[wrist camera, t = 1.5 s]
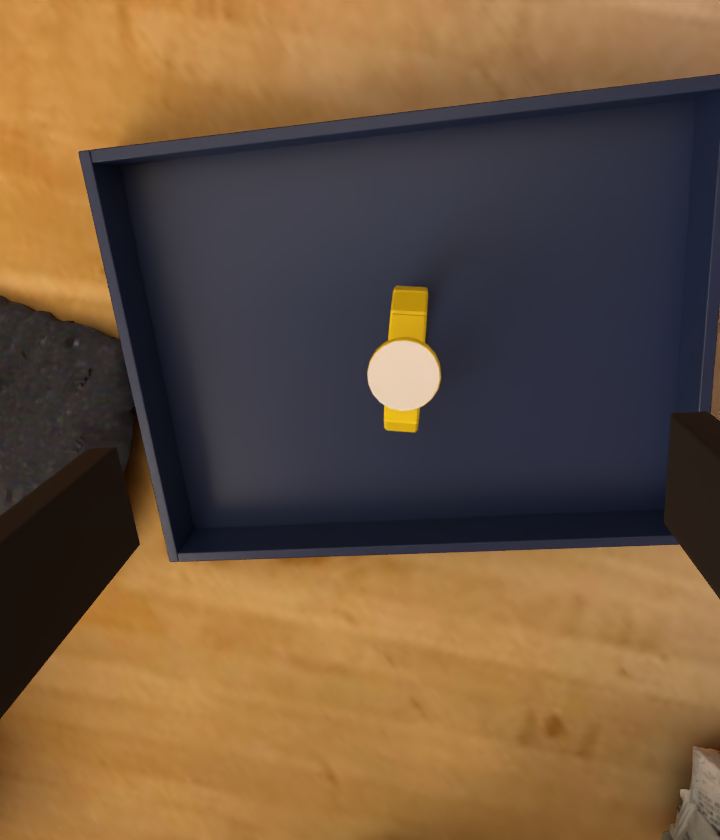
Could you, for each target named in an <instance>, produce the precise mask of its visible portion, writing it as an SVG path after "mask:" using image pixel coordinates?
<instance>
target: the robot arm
mask: <svg viewBox="0 0 720 840" xmlns="http://www.w3.org/2000/svg"><path fill="white" fill-rule="evenodd" d="M664 524H665V525H666V526H667V528H668V529H669V530H670V532H671V533H672V535H673V536H674V537H675V539H676V540H677V541H678V543H679V544H680V545H681V547H682V548H683V550H684V551H685V552H686V554H687V555H688V556H689V558H690V559H691V561H692V562H693V563H694V565H695V566H696V567H697V569H698V570H699V571H700V573H701V574H702V576H703V577H704V578H705V580H706V581H707V582H708V584H709V585H710V586H711V588H712V589H713V591H714V592H715V593H716V595H717V596H718V597H719V599H720V421H719V420H718V419H716V418H715V417H714V416H713V415H711V414H710V413H709V412H707V411H700V412H684V413H671V417H670V433H669V448H668V464H667V479H666V495H665V510H664ZM139 545H140V542H139V538H138V534H137V530H136V526H135V522H134V517H133V513H132V509H131V505H130V501H129V497H128V492H127V488H126V484H125V480H124V476H123V472H122V468H121V463H120V459H119V455H118V451H117V447H108V448H91V449H87V450H85V451H84V452H83V453H81V454H80V455H79V456H77V457H76V458H75V459H74V460H72V461H71V462H70V463H68V464H67V465H66V466H64V467H63V468H62V469H60V470H59V471H58V472H57V473H55V474H54V475H53V476H51V477H50V478H49V479H47V480H46V481H45V482H44V483H42V484H41V485H40V486H38V487H37V488H36V489H34V490H33V491H32V492H31V493H29V494H28V495H27V496H25V497H24V498H23V499H21V500H20V501H19V502H18V503H16V504H15V505H14V506H12V507H11V508H10V509H8V510H7V511H6V512H5V513H3V514H2V515H1V516H0V719H1V717H2V716H3V715H4V714H5V712H6V711H7V710H8V709H9V707H10V706H11V705H12V704H13V702H14V701H15V700H16V699H17V697H18V696H19V695H20V694H21V692H22V691H23V690H24V689H25V687H26V686H27V685H28V684H29V682H30V681H31V680H32V679H33V677H34V676H35V675H36V674H37V672H38V671H39V670H40V669H41V667H42V666H43V665H44V664H45V662H46V661H47V660H48V659H49V657H50V656H51V655H52V654H53V652H54V651H55V650H56V649H57V647H58V646H59V645H60V644H61V642H62V641H63V640H64V639H65V637H66V636H67V635H68V634H69V632H70V631H71V630H72V629H73V627H74V626H75V625H76V624H77V622H78V621H79V620H80V619H81V617H82V616H83V615H84V614H85V612H86V611H87V610H88V609H89V607H90V606H91V605H92V604H93V602H94V601H95V600H96V599H97V597H98V596H99V595H100V594H101V592H102V591H103V590H104V589H105V587H106V586H107V585H108V584H109V582H110V581H111V580H112V579H113V577H114V576H115V575H116V574H117V572H118V571H119V570H120V569H121V567H122V566H123V565H124V564H125V562H126V561H127V560H128V559H129V557H130V556H131V555H132V554H133V552H134V551H135V550H136V549H137V547H138V546H139Z"/></svg>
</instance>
